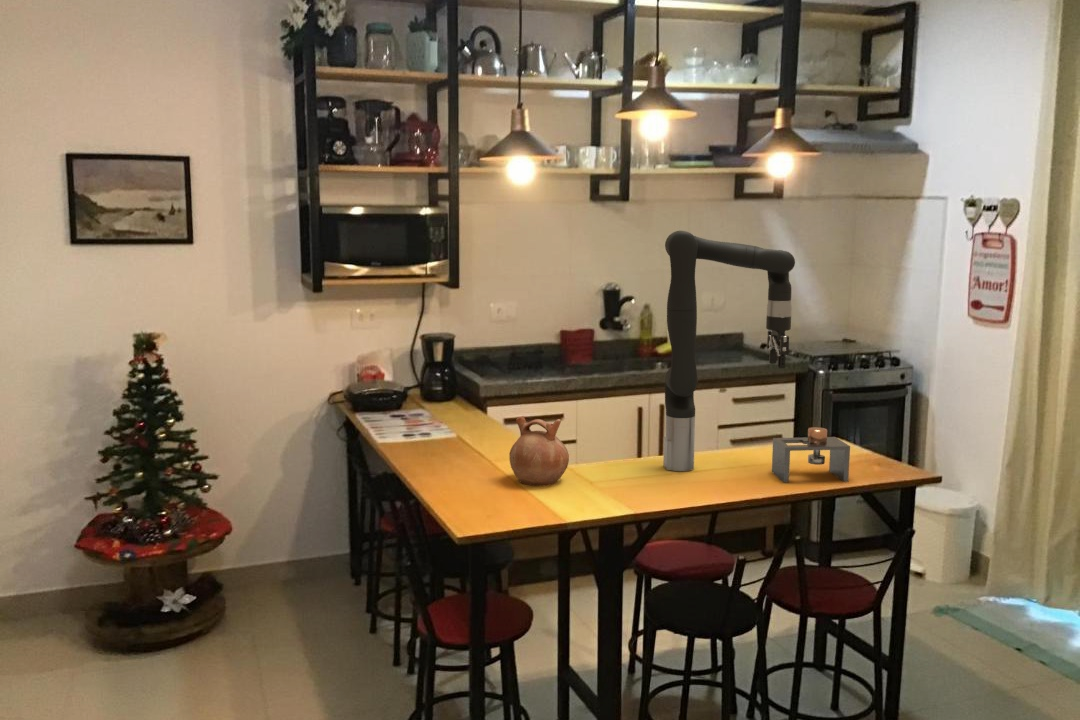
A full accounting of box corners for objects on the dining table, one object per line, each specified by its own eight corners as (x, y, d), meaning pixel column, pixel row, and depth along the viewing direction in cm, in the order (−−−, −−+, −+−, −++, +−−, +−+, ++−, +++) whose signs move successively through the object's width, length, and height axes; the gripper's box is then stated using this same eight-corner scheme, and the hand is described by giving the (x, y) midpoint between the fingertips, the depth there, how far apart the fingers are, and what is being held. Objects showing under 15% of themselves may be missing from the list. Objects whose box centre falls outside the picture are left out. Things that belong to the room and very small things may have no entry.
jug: (579, 477, 298) (580, 414, 295) (550, 492, 282) (550, 426, 279) (528, 469, 307) (528, 408, 304) (497, 483, 292) (497, 419, 288)
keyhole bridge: (783, 482, 292) (785, 447, 290) (771, 472, 303) (773, 438, 302) (848, 481, 293) (850, 446, 291) (833, 470, 305) (835, 436, 303)
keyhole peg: (810, 465, 295) (812, 431, 293) (804, 460, 300) (805, 427, 299) (828, 464, 295) (829, 431, 293) (821, 459, 301) (823, 427, 299)
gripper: (760, 312, 307) (758, 362, 310) (774, 317, 293) (772, 369, 296) (783, 312, 308) (781, 362, 310) (798, 317, 294) (796, 369, 296)
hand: (776, 365), depth 303 cm, fingers open, 8 cm apart
